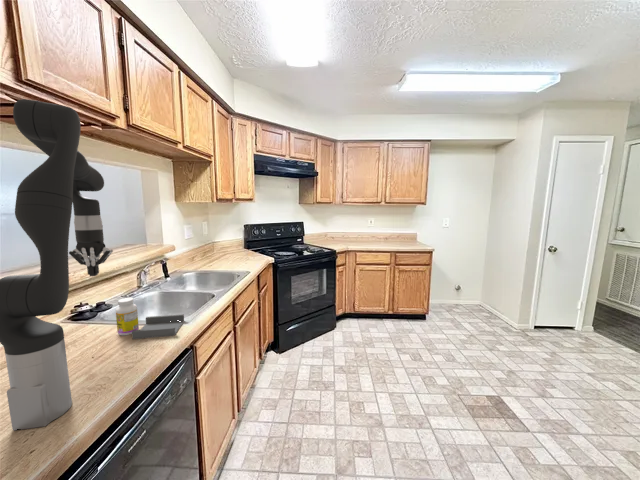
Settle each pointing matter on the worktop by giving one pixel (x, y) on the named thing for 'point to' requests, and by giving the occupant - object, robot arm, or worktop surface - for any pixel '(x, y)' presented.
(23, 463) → the worktop surface
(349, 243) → the worktop surface
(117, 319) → the supplement bottle
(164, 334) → the cradle tray
